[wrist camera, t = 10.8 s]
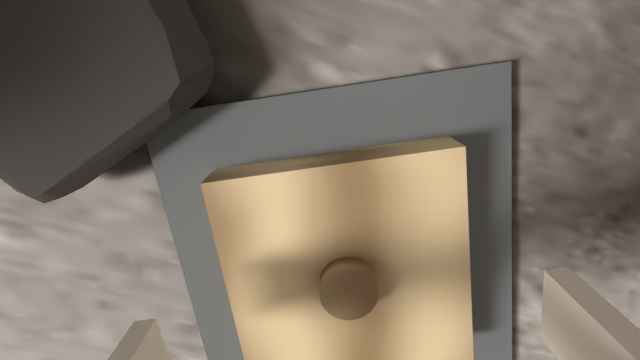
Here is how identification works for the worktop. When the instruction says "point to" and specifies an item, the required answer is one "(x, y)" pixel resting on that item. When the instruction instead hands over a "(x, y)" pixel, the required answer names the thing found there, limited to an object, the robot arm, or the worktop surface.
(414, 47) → the worktop surface
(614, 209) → the worktop surface
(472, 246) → the mat
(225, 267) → the lid
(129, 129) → the spray bottle
